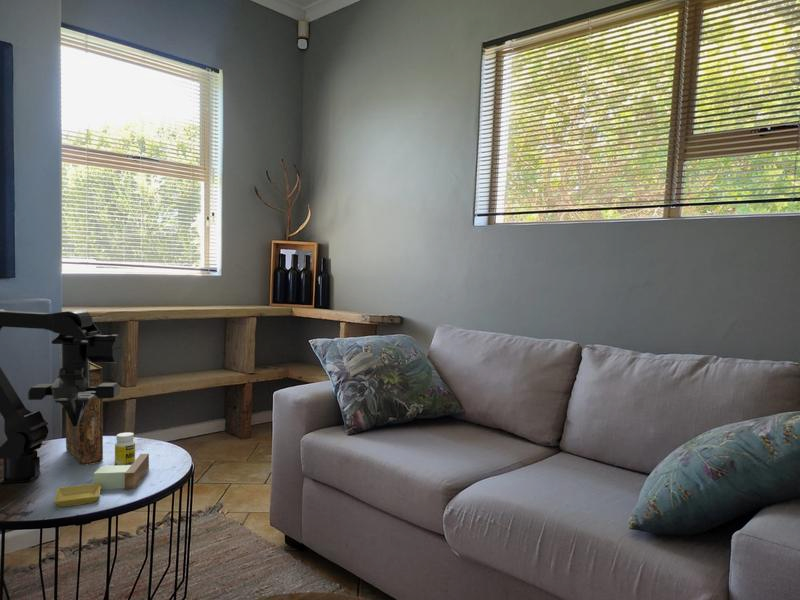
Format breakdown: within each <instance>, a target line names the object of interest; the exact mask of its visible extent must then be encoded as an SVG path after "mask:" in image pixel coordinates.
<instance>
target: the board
mask: <svg viewBox="0 0 800 600" xmlns="http://www.w3.org/2000/svg"><path fill="white" fill-rule="evenodd" d="M149 466H150V453H140V454H139V455H138V456H137V457H136V458H135V461H134V463H133V464H132V465H131V466H130V467H129V469H128V470H127V471H126V472H125V488H124V490H125V491H129V489H134V490H135V489H136V488H135V487H138V485H139V483H140V482H141V481H140V480H142V479H143V477H145V475H146V474H145V473H147V472H148V471H149V469H150V467H149ZM147 470H148V471H147ZM137 484H138V485H137Z"/></svg>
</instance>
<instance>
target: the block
mask: <svg viewBox="0 0 800 600" xmlns="http://www.w3.org/2000/svg"><path fill="white" fill-rule="evenodd" d="M130 466H131V465H115V464H114V465H101V466H99V467H98V469H96V470H95V471H94V473H93V484H95V483H101V487H100V490H107V489H108V490H110V489H112V490H114V489H125V472H126V471H127V470H128V469H129V467H130Z"/></svg>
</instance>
